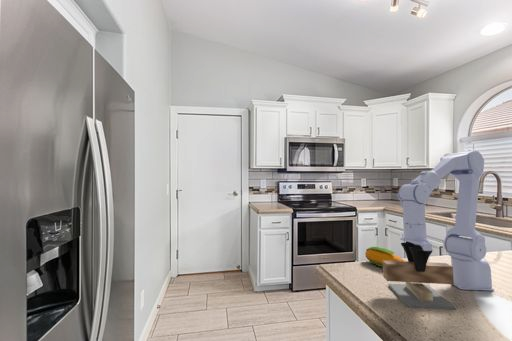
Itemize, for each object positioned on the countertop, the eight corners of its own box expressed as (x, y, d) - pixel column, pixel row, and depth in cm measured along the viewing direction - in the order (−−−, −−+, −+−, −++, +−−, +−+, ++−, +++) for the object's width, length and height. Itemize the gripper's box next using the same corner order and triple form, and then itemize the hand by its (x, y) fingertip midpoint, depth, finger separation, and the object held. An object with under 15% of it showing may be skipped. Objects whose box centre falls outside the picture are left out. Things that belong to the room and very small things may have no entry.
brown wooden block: (446, 279, 76) (445, 263, 76) (453, 284, 72) (452, 266, 72) (383, 276, 78) (382, 260, 79) (387, 281, 75) (386, 264, 75)
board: (428, 287, 81) (427, 285, 81) (455, 309, 67) (455, 306, 67) (388, 286, 83) (388, 283, 83) (407, 306, 69) (407, 303, 69)
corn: (372, 242, 112) (415, 253, 93) (374, 259, 112) (417, 273, 93) (360, 245, 109) (401, 257, 91) (361, 262, 109) (403, 278, 90)
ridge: (416, 289, 80) (415, 278, 80) (433, 304, 70) (432, 291, 70) (405, 289, 80) (405, 278, 80) (421, 304, 70) (420, 291, 70)
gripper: (391, 220, 84) (393, 261, 83) (411, 227, 70) (414, 277, 69) (414, 220, 83) (416, 261, 82) (439, 227, 69) (442, 278, 68)
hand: (417, 269), depth 75 cm, fingers closed on brown wooden block, 3 cm apart
